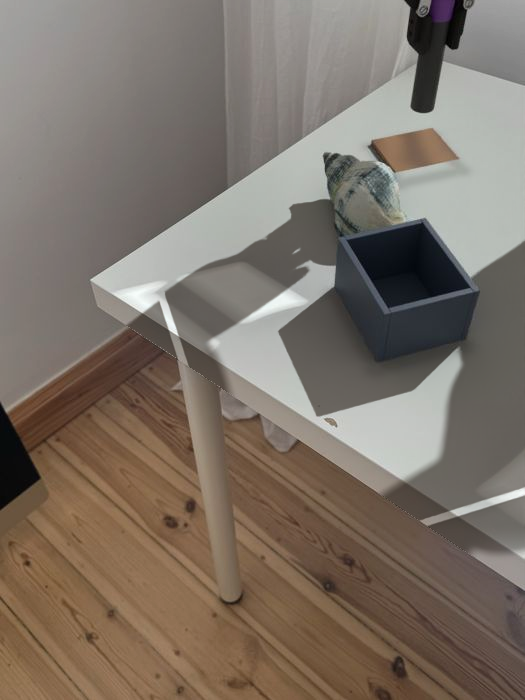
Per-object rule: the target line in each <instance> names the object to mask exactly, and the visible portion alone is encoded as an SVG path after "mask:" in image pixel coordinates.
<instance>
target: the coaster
mask: <svg viewBox="0 0 525 700" xmlns="http://www.w3.org/2000/svg"><path fill="white" fill-rule="evenodd" d="M370 144H371V145H372V147H373V148H374V150H375V151H376V152H377V153H378V155H379V156H380V157H381V159H382V160H383V161H384V164H385V165H387V166H388V167H390V168H391V169H392V171H393V173H394V174H395V173H400V172H405V171H410V170H414V169H420V168H425V167H429V166H433V165H438V164H442V163H448V162H451V161H458V160H460V157H459V156H457V154H456V153H455V151H453V149H451V147H450V146H449V145H448V144H447V142H446V141H445V140H444V139H443V138H442V137H441V136H440V134H439V133H438V132H437V131H436V130H435V129H434V127H430V128H424V129H419V130H415V131H414V130H413V131H409V132H404V133H400V134H394V135H390V136H384V137H379V138H375V139H371V143H370Z"/></svg>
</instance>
